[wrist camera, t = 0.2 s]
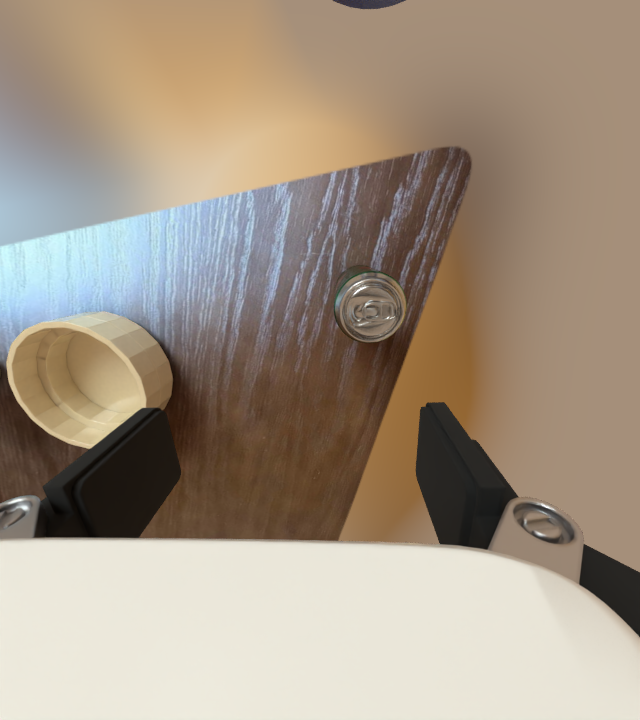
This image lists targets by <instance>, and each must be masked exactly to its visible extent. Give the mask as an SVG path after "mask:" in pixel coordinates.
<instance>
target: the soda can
mask: <svg viewBox="0 0 640 720" xmlns="http://www.w3.org/2000/svg"><path fill="white" fill-rule="evenodd" d="M406 307H407V305H406V297H405V294H404V291H403V289H402V287H401V286H400V284H399V283H398V282H397V281H396V280H395V279H394V278H392V277H391V276H389V275H387V274H385V273H383V272H380V271H378V270H375V269H373V268H371V267H368V266H363V265H358V266H353V267H350V268H348V269H347V270H345V271H344V272H343V273H342V274H341V275H340V276H339V278H338V280H337V282H336V285H335V298H334V314H335V319H336V322H337V324H338V326H339V327H340V329H341V330H342V331H343V333H344V334H345V335H347V336H348V337H349V338H351V339H353V340H355V341H358V342H362V343H375V342H379V341H382V340H384V339H387V338H388V337H390V336H391V335H392V334H394V333H395V332H396V331H397V329H398V328H399V327H400V325H401V324H402V322H403V320H404V318H405V314H406Z"/></svg>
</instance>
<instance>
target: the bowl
mask: <svg viewBox="0 0 640 720" xmlns="http://www.w3.org/2000/svg"><path fill="white" fill-rule="evenodd" d="M6 362H7V363H6V365H7V373H8V382H9V384H10V386H11V389H12V391H13V393H14V395H15V398H16V400H17V401H18V403H19V404H20V406H21V407H22V408H23V409H24V411H25V412H26V413H27V415H28V416H29V417H30V418H31V419H32V420H33V421H34V422H35V423H36V424H38V425H39V426H40V427H41V428H43V429H44V430H45V431H46V432H47V433H49V434H51V435H53V436H55V437H57V438H58V439H60V440H62V441H64V442H66V443H69V444H72V445H76V446H80V447H84V448H88V449H91V448H92V447H93V446H94V445H96V444H97V443H98V442H99V441H101V440H102V439H103V438H104V437H106V436H107V435H108V434H109V433H111V432H112V431H113V430H115V429H116V428H117V427H118V426H120V425H121V424H122V423H123V422H125V421H126V420H127V419H128V418H130V417H131V416H132V415H133V414H135V413H136V412H137V411H138V410H140V409H141V408H157V407H159V408H161V410H163V409H164V408H165V407H166V405H167V403H168V401H169V399H170V397H171V394H172V384H173V376H172V372H171V368H170V364H169V361H168V359H167V357H166V355H165V353H164V352H163V350H162V348H161V346H160V345H159V344H158V342H157V341H156V340H155V339H154V338H153V337H152V336H151V335H150V334H149V333H148V332H147V331H146V330H145V329H144V328H143V327H141V326H139V325H137V324H136V323H134V322H132V321H131V320H129V319H127V318H126V317H123V316H119V315H116V314H112V313H108V312H104V311H100V312H84V313H80V314H75V315H71V316H67V317H62V318H58V319H54V320H50V321H45V322H41V323H39V324H36V325H34V326H32V327H30V328H27V329H25V330H23V331H22V332H21V334H20V335H19V336H18V337H17V338H16V339H15V341H14V342H13V343H12V344H11V347H10V350H9V354H8V358H7V361H6Z"/></svg>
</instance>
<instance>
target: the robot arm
mask: <svg viewBox="0 0 640 720" xmlns="http://www.w3.org/2000/svg"><path fill="white" fill-rule="evenodd" d="M180 475H181V469H180V465H179V461H178V457H177V453H176V449H175V445H174V442H173V438H172V434H171V430H170V426H169V422H168V418H167V415H166V413H165V412H164V411H162V410H161V408H159V407H157V408H141V409H140V410H138V411H137V412H136V413H135V414H133V415H132V416H131V417H130V418H128V419H127V420H126V421H125V422H123V423H122V424H121V425H120V426H118V427H117V428H116V429H115V430H113V431H112V432H111V433H109V434H108V435H107V436H106V437H104V438H103V439H102V440H101V441H99V442H98V443H97V444H96V445H94V446H93V447H92V448H91V449H89V450H88V451H87V452H86V453H84V454H83V455H82V456H81V457H79V458H78V459H77V460H75V461H74V462H73V463H72V464H70V465H69V466H68V467H67V468H65V469H64V470H63V471H62V472H60V473H59V474H58V475H57V476H55V477H54V478H53V479H52V480H50V481H49V482H48V483H47V484H45V485H44V486H43V489H44V491H45V494H46V496H47V497H46V498H45V499H44V500H42V501H40V499H39V498H38V497H36V496H31V495H27V496H21V497H17V498H13V499H10V500H7V501H5V502H3V503H0V720H640V572H638V571H636V570H634V569H632V568H630V567H628V566H626V565H624V564H622V563H620V562H618V561H616V560H614V559H612V558H610V557H608V556H606V555H605V554H602V553H600V552H598V551H597V550H594V549H593V548H591V547H589V546H587V545H585V544H584V538H583V532H582V531H581V529H580V527H579V526H578V524H577V523H576V522H575V521H574V520H573V519H572V518H571V517H570V516H569V515H568V514H566V513H565V512H563V511H562V510H561V509H559V508H558V507H556V506H554V505H552V504H550V503H548V502H545V501H542V500H539V499H535V498H528V497H518V496H517V494H516V493H515V492H514V490H513V489H512V488H511V486H510V485H509V484H508V482H507V481H506V479H505V478H504V477H503V475H502V474H501V473H500V472H499V470H498V469H497V467H496V466H495V465H494V463H493V462H492V461H491V459H490V458H489V457H488V456H487V454H486V453H485V451H484V450H483V449H482V447H481V446H480V444H479V443H478V442H477V441H476V440H471V439H470V437H469V436H468V434H467V433H466V432H465V430H464V429H463V427H462V426H461V425H460V423H459V422H458V421H457V419H456V418H455V416H454V415H453V414H452V412H451V411H450V409H449V408H448V407H447V405H446V404H445V403H444V402H442V403H440V402H439V403H427V404H426V407H421V410H420V422H419V434H418V448H417V461H416V476H417V481H418V483H419V486H420V489H421V492H422V495H423V498H424V500H425V503H426V506H427V508H428V512H429V515H430V517H431V520H432V523H433V526H434V528H435V531H436V534H437V537H438V540H439V543H440V544H425V543H408V542H368V541H320V540H266V539H193V538H139V536H140V535H141V534H142V532H143V531H144V529H145V528H146V526H147V525H148V524H149V522H150V521H151V519H152V518H153V516H154V515H155V513H156V512H157V511H158V509H159V508H160V506H161V505H162V503H163V502H164V501H165V499H166V498H167V496H168V495H169V493H170V492H171V490H172V489H173V488H174V486H175V485H176V483H177V482H178V480H179V478H180Z"/></svg>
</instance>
